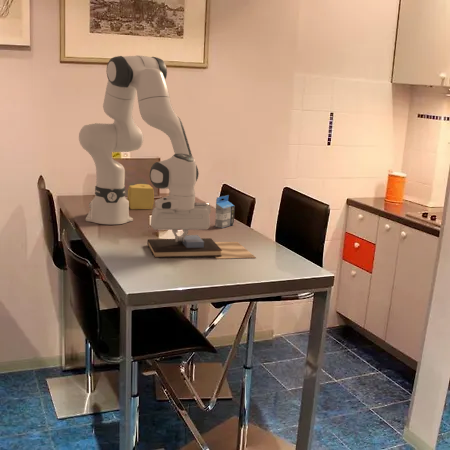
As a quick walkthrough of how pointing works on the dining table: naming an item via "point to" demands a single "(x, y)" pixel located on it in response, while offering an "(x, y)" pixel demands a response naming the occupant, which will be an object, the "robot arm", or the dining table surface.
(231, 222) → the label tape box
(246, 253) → the mat
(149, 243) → the hardcover book
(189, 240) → the blue-grey flat block
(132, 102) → the robot arm
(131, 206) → the cheese
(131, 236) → the dining table surface
